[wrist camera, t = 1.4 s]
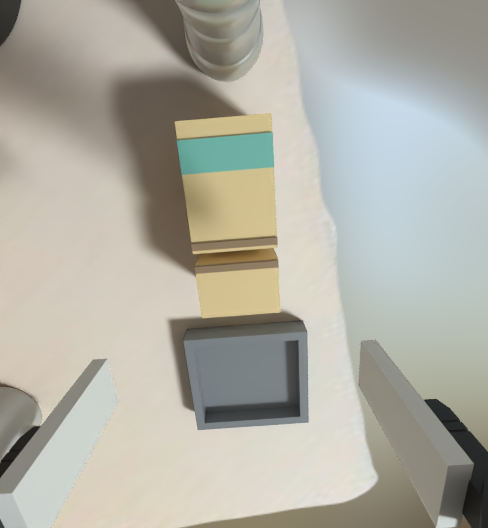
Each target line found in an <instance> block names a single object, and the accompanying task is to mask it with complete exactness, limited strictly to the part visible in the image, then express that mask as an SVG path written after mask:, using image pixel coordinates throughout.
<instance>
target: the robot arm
mask: <svg viewBox="0 0 488 528" xmlns="http://www.w3.org/2000/svg"><path fill="white" fill-rule="evenodd" d="M20 4H21V0H0V46H1V45H2V43H3V42H4V41H5V40H6V38H7V37H8V36H9V34H10V32H11V30H12V29H13V27H14V24H15V22H16V19H17V16H18V13H19V9H20ZM359 387H360V389H361V391H362V393H363V394H364V396H365V398H366V400H367V402H368V404H369V405H370V407H371V409H372V411H373V413H374V415H375V416H376V418H377V420H378V422H379V424H380V426H381V427H382V429H383V431H384V433H385V435H386V437H387V438H388V440H389V442H390V444H391V446H392V448H393V449H394V451H395V453H396V455H397V457H398V459H399V461H400V462H401V464H402V466H403V468H404V470H405V472H406V473H407V475H408V477H409V479H410V481H411V482H412V484H413V486H414V488H415V490H416V492H417V493H418V495H419V497H420V499H421V501H422V503H423V505H424V506H425V508H426V510H427V512H428V514H429V516H430V517H431V519H432V521H433V523H434V525H435V527H436V528H447V527H460V524H461V520H462V516H463V515H464V516H465V518H466V519H467V521H468V523H469V524H470V526H471V527H472V528H488V452H487V450H486V449H485V448H484V447H483V446H482V445H481V444H480V443H479V441H478V440H477V439H476V438H475V437H474V435H473V434H472V433H471V432H469V431H468V429H467V428H466V426H465V425H464V424H463V423H462V422H460V420H459V418H458V417H457V416H456V415H455V414H454V413H453V411H451V409H450V408H449V407H447V406H446V405H444V404H443V403H441V402H440V401H438V400H437V399H428V400H423V399H422V398H421V396H420V395H419V394H418V393H417V391H416V390H415V389H414V387H413V386H412V385H411V384H410V382H409V381H408V380H407V379H406V377H405V376H404V375H403V374H402V372H401V371H400V370H399V368H398V367H397V366H396V365H395V364H394V362H393V361H392V360H391V359H390V357H389V356H388V355H387V353H386V352H385V351H384V350H383V348H382V347H381V346H380V345H379V343H378V342H377V341H376V340H367V341H361V350H360V368H359ZM117 403H118V397H117V394H116V390H115V386H114V382H113V378H112V374H111V370H110V366H109V362H108V359H96V360H92V362H91V363H90V364H89V365H88V367H87V368H86V369H85V370H84V372H83V373H82V374H81V376H80V377H79V378H78V379H77V381H76V382H75V383H74V385H73V386H72V387H71V388H70V390H69V391H68V392H67V393H66V395H65V396H64V397H63V399H62V400H61V401H60V402H59V404H58V405H57V406H56V408H55V409H54V410H53V411H52V413H51V414H50V415H49V416H48V418H47V419H46V420H45V422H44V423H43V424H42V425H41V426H34V427H32V428H31V429H30V430H28V431H27V432H26V433H25V434H24V435H22V436H21V437H20V438H19V439H18V440H17V441H16V443H15V444H14V445H13V446H12V447H11V449H10V450H9V452H8V453H6V455H5V456H4V457H3V458H2V460H1V462H0V528H51V527H52V526H53V524H54V522H55V520H56V518H57V516H58V514H59V512H60V511H61V509H62V507H63V505H64V503H65V501H66V499H67V497H68V495H69V494H70V492H71V490H72V488H73V486H74V484H75V482H76V480H77V479H78V477H79V475H80V473H81V471H82V469H83V467H84V465H85V463H86V462H87V460H88V458H89V456H90V454H91V452H92V450H93V448H94V447H95V445H96V443H97V441H98V439H99V437H100V435H101V433H102V431H103V430H104V428H105V426H106V424H107V422H108V420H109V418H110V416H111V415H112V413H113V411H114V409H115V407H116V405H117Z"/></svg>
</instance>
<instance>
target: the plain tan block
mask: <svg viewBox="0 0 488 528" xmlns="http://www.w3.org/2000/svg"><path fill="white" fill-rule="evenodd" d="M194 268H195V274H196V279H197V286H198V293H199V301H200V308H201V315H202V318H214V317H227V316H240V315H253V314H267V313H280V295H279V273H278V258H277V256H276V253H275V251H274V248H266V249H253V250H240V251H227V252H215V253H202V254H200V255H199V257H198V259H197V261H196V264H195V267H194Z"/></svg>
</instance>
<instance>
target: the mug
mask: <svg viewBox="0 0 488 528" xmlns="http://www.w3.org/2000/svg"><path fill="white" fill-rule="evenodd" d="M41 420H42V414H41V410H40V408H39V406H38V404H37V403H36V402H35V400H34V399H33V398H31V397H30V396H29V395H28V394H26V393H24V392H23V391H20V390H18V389H15V388H11V387H0V462H1V460H2V458H3V457H4V456H5V455H6V453H8V452H9V450H10V449H11V447H12V446H13V445H14V444H15V443H16V441H17V440H18V439H19V438H20V437H21V436H22V435H24V434H25V433H26V432H27V431H28V430H30V429H31V428H32V427H34V426H40V424H41Z"/></svg>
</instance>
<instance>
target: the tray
mask: <svg viewBox="0 0 488 528" xmlns="http://www.w3.org/2000/svg"><path fill="white" fill-rule="evenodd" d="M183 343H184V349H185V355H186V361H187V367H188V373H189V379H190V385H191V391H192V397H193V404H194V410H195V416H196V422H197V428H198V430H205V429H220V428H234V427H249V426H263V425H278V424H292V423H307V422H308V349H307V330H306V327H305V325H304V323H303V321H293V322H279V323H266V324H253V325H239V326H226V327H212V328H199V329H187V331H186V334H185V337H184V340H183Z"/></svg>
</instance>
